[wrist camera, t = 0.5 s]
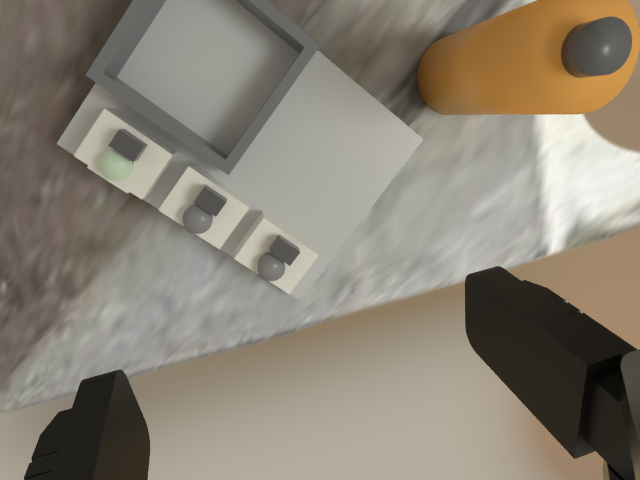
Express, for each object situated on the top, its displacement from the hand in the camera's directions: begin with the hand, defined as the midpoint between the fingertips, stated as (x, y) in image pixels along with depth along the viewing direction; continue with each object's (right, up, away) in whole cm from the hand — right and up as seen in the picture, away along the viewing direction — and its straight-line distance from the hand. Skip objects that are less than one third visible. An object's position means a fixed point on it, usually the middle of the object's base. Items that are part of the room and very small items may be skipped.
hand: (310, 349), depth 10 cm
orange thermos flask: (+9, +13, +19) cm, 25 cm away
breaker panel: (-4, +9, +18) cm, 20 cm away
